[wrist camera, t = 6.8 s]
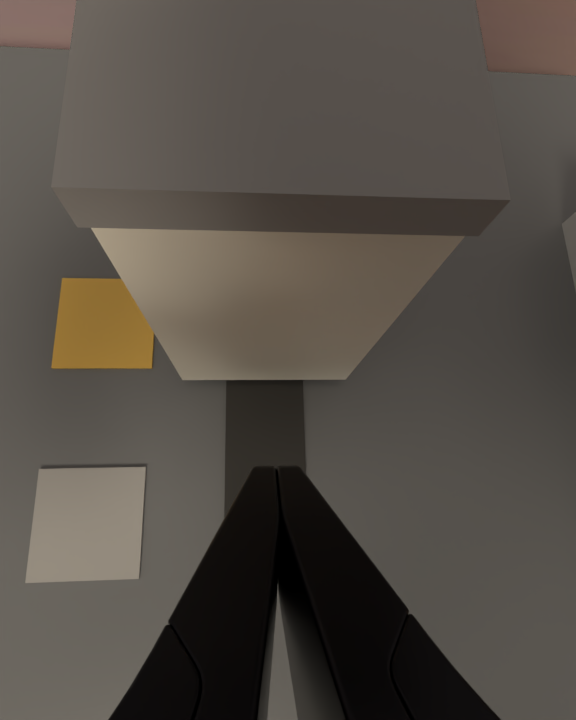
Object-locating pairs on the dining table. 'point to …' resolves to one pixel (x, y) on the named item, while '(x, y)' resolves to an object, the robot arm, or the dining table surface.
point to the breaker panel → (289, 436)
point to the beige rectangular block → (277, 168)
